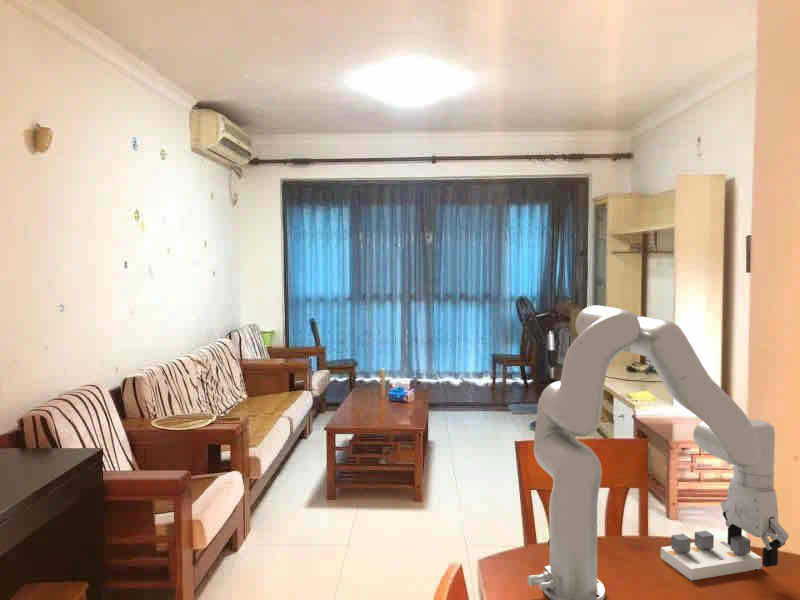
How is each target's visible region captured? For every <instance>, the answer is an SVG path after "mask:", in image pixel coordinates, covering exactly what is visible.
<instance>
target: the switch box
mask: <svg viewBox="0 0 800 600" xmlns="http://www.w3.org/2000/svg"><path fill="white" fill-rule="evenodd" d="M730 548H731V545H729V544H728V536H727V537H720V538H715V539H714V546H713V548H711V549H705V550H701V549H700V548H698V547H697V546H695V541H694V542H690V552H684V553H678V552H676V551H675V550H673V549H672V548H671V545H669V546H668V545H667V546H661V547H660V558H661V559H662V560H663V561H664V562H665V563H666V564H668V565H670V567H672V568H674V569H675V570H676V571H678V572H679V573H680V574H682V575H684V577H685V578H687V579H688V580H690V581H695V580H701V579H702V580H703V579H706V578H707V579H708V578H714V577H715V578H716V577H719V576H727V575H731V574H738V573H743V572H744V573H745V572H751V571H755V569H757V570H762V569H763V556H760V555H758V554H756V553H755V552H753V551H752V550H750V553H748V554H742V555H738V554H736V553H735V552H733V551H731V550H730ZM750 570H751V571H750Z"/></svg>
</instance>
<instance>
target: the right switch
mask: <svg viewBox="0 0 800 600" xmlns="http://www.w3.org/2000/svg"><path fill="white" fill-rule="evenodd" d="M730 550H731V551H733V552H735V553H736V554H738V555H742V554H748V553H750V551H751V539H749V538H747V537H746V536H744V535H743V534H742V535H740V536H734V537H731V548H730Z"/></svg>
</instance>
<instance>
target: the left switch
mask: <svg viewBox="0 0 800 600" xmlns="http://www.w3.org/2000/svg"><path fill="white" fill-rule="evenodd" d="M690 543H691V537H688V536H687V535H686V534H684V533H680V534H679V533H678V534H673V535H671V545H670V546H671V548H672V549H673V550H675V551H676V552H678V553H684V552H690Z"/></svg>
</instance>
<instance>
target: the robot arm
mask: <svg viewBox="0 0 800 600" xmlns="http://www.w3.org/2000/svg"><path fill="white" fill-rule="evenodd" d="M575 329H576V333H577V335H578V336H577V337H576V338H575V339H574V340H573V342H572V343H571V344H570V345H569V347H568V349H567V351H566V354H565V355H564V356H565V357H564V360H563V364H562V370H561V375H560V380H557V381H554V382H551V383H549V384H548V385H547V386H546V387H545V388H544V389H543V391H542V392H541V395H540V397H539V399H538V404H537V410H536V420H535V428H534V429H535V430H534V440H533V453H534V458H535V461H536V463H537V464H538V465H539V466H540V467H541V468H542V470H543V471H545V472H546V474H548V475H549V476H550V477H551V478H552V489H551V493H550V496H549V497H550V498H549V505H548V508H549V510H548V512H549V513H548V517H549V521H548V522H549V525H548V526H549V530H548V532H549V538H550V548H549V565H546V566H544V571H543V572H541V574H533V575H528V576H527V583H528V585H529V587H532V586H538V587H539V590H540V591H543V593H544V594H545V595H546V596H547V597H548V598H549V599H550V600H604V599H605V598H606V588H605V586H604V584H603V582H602V581H600V580H599V579H598V502H599V501H598V499H599V492H600V487H601V483H602V482H601V481H602V475H603V474H602V473H603V472H602V465H601V461H600V458H599V457H598V455H597V454H596V453H595V452H594V450H593V449H592V448H591V447H589V446H588V445H587V444H586V443H584V442H582V440H581V441H580V440H579V439H577V437H578V438H579V437H582V438H583V437H588V436H591V435H593V434H594V433H595V432H596V431H597V429H598V428H599V426H600V422H601V419H602V418H601V417H602V410H603V409H602V408H603V401H604V400H603V398H604V391H605V382H606V376H607V371H608V370H609V369H608V368H609V366H610V365H611V364H612V362H613V360H614V359H615V358H616V357H617V356H619V355H620V354H621V353H622V352H626V353H632V354H635V355H640V356H643V357H646V358H647V359H648V360H649V361H650V363H651V365H652V367H653V368H654V370H655V371H656V373H657V375H658V376H659V378H660V379H661V381H662V383H663V385H664V386H665V388H666V390H667V391H668V393H669V394H670V396H671V397H672V399H674V400H675V401H676V402H677V403H678V404H680V405H681V406H682V407H683V408H685V409H686V410H688V411H689V412H691V413H692V414H694V415H695V416H696V417H698V419H700V420H701V422H699V423H697V425H696V426H694V427H695V428H694V430H693V432H692V433H693V434H692V438H693V440H694V442H695V443H694V444H696V445H697V447H698V448H699V449H701V450H702V451H704V452H706V453H707V454H710V455H711V456H713V457H716V458H718V459H719V460H722V461H724V462H725V463H728V464H730V465H732V470H733V476H732V477H731V478H730V481H729V485H728V489H727V493H726V494H727V496H726V501H720V507H721V510H722V516H723V517H724V520H725V525H726V527H727V537H728V544H729V545H731V537H734V536H740V535H742V536H743V531H745V532H746V533H748V534H749V535H752V536H754V537H755V538H761V540H762V542H763V544H764V546H765V547H764V546H763V547H762V567H765V568H769V567H775V566H777V565H779V563H778V559H779V558H778V557H779V549H781V548H782V547H783V546H784V545H785V544H786V542H787V540H788V538H789V533H788V532H787V531H786V530H785V529H784V528H783V526H781V525H780V523H779V508H778V499H777V493H776V489H775V488H774V485H775V483H774V482H775V444H776V442H775V440H776V439H775V438H776V437H775V436H776V434H775V433H776V432H775V427H774V426H773V425H772V424H771V422H767V421H766V420H765V421H764V420H761V419H754V418H748V417H747V415H746V413H745V412H743V410H742V409H741V407H740V406H739V405H738V404H737V403H736V402H735V401H734V399H733V398H731V397H730V396H729V395H728V394H727V393H726V392H725V391H724V390H723V389H722V388H721V387H720V385H718V384H717V382H715V381H714V380H713V379H712V378H711V376H710V375H709V373H708V372H707V370H706V369H705V367H704V365H703V364H702V362H701V360H700V358H699V357H698V355H697V354H696V351H695V350H694V348H693V346H692V344H691V343H690V341H689V340H688V338H687V336H686V335H685V333H684V331H683V330H682V328H680V326H678V325H677V323H674V322H673V321H670V320H666V319H662V318H661V319H660V318H655V317H647V316H642V315H639V314H638V315H637V314H635V313H633V312H631V311H628V310H626V309H622V308H619V307H618V308H617V307H611V306H610V307H609V306H605V305H598V304H597V305H591V306H590V305H589V306H587V307H585V308H584V309H582V310H581V311H580V312H579V313H578V314H577V317H576V319H575ZM768 537H770V539H771V541H770V539H769V538H768ZM549 538H548V539H549Z"/></svg>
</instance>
